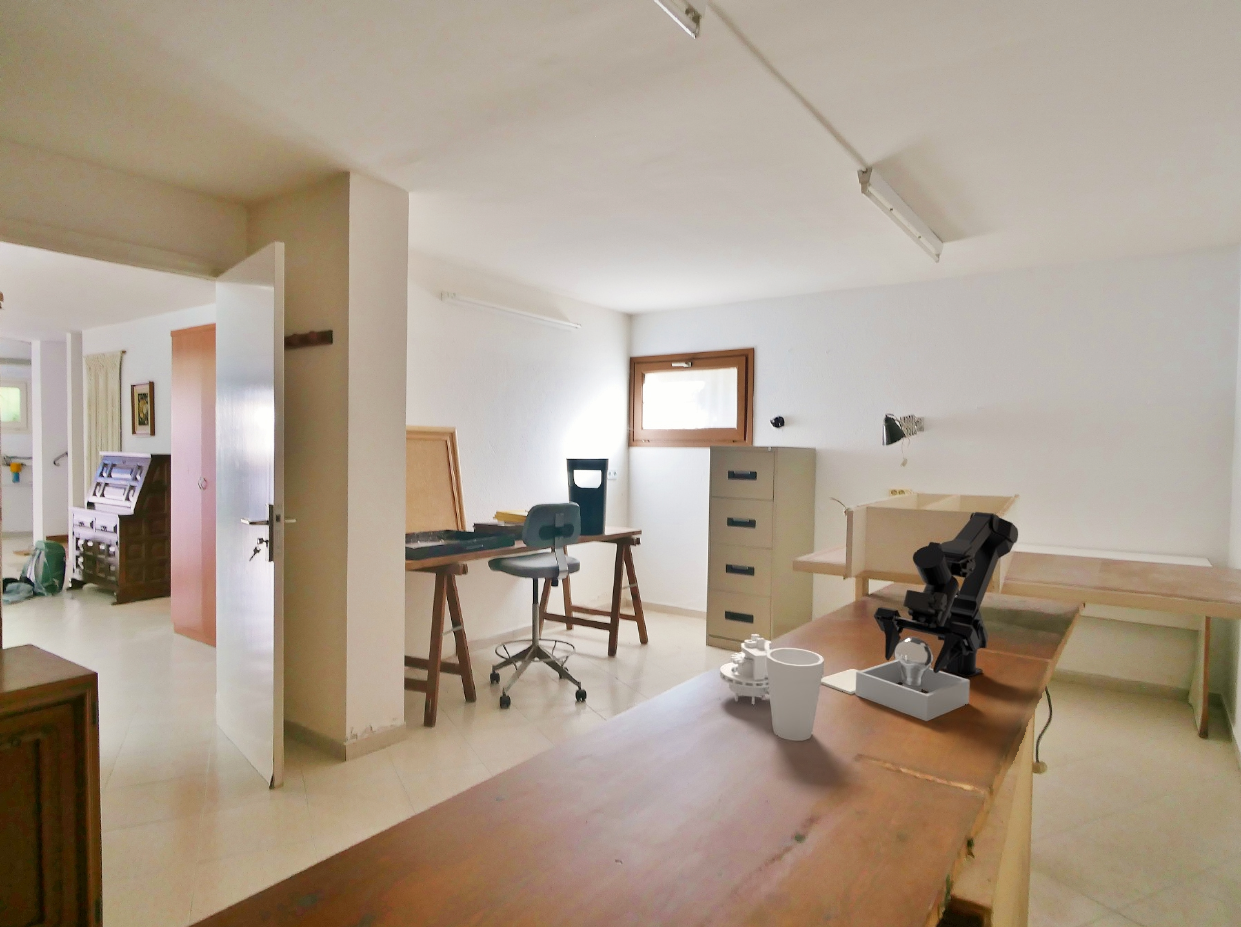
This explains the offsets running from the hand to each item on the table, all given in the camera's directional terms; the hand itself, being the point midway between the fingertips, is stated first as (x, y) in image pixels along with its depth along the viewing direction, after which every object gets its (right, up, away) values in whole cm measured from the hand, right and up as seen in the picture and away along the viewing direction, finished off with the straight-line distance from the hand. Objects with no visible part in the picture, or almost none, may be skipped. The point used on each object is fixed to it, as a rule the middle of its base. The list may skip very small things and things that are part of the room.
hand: (910, 665), depth 132 cm
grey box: (+1, -7, +1) cm, 7 cm away
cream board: (-8, -6, +10) cm, 14 cm away
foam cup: (-26, -7, -15) cm, 31 cm away
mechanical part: (-30, -6, 0) cm, 31 cm away
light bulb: (+1, -7, +1) cm, 7 cm away
